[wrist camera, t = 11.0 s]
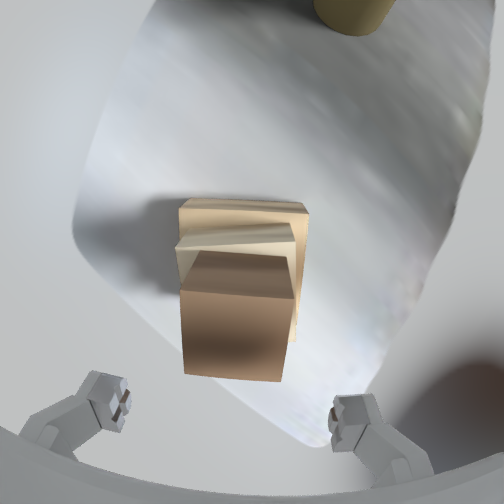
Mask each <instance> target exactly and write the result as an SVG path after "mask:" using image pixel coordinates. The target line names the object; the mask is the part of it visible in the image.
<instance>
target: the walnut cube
mask: <svg viewBox="0 0 504 504" xmlns="http://www.w3.org/2000/svg"><path fill="white" fill-rule="evenodd" d="M294 300H295V299H294V294H293V288H292V283H291V278H290V272H289V267H288V262H287V257H284V256H271V255H258V254H245V253H232V252H219V251H206V250H200V251H199V253H198V255H197V257H196V259H195V261H194V263H193V265H192V267H191V268H190V270H189V272H188V274H187V276H186V278H185V280H184V282H183V284H182V286H181V288H180V313H181V331H182V347H183V360H184V373H185V374H190V375H199V376H207V377H217V378H227V379H239V380H252V381H269V382H281V378H282V373H283V367H284V361H285V355H286V350H287V344H288V338H289V332H290V325H291V319H292V313H293V306H294Z"/></svg>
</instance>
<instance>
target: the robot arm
mask: <svg viewBox="0 0 504 504" xmlns="http://www.w3.org/2000/svg"><path fill="white" fill-rule="evenodd" d="M127 386H128V383H127V379H125V378H123V377H118V376H114V375H110V374H106V373H101V372H97V371H93V370H92V371H91V372H89V374H88V376H87V377H86V379H85V380H84V382H83V383H82V385H81V387H80V388H79V390H78V392H77V393H76V395H75V396H73V395H71V396H69V397H67V398H65V399H64V400H61V401H59V402H58V403H56V404H54V405H52V406H50V407H48V408H46V409H44V410H42V411H40V412H37V413H36V414H33V415H31V416H30V418H29V419H28V421H27V422H26V424H25V425H24V427H23V428H22V430H21V432H20V433H19V435H16V434H14V433H12V432H10V431H8V430H6V429H4V428H3V427H1V426H0V504H504V453H498V454H495V455H493V456H490V457H488V458H485V459H482V460H480V461H477V462H474V463H472V464H469V465H466V466H463V467H460V468H457V469H454V470H451V471H447V472H444V473H441V474H438V475H435V474H434V472H433V469H432V466H431V464H430V461H429V458H428V456H427V453H426V452H425V451H424V450H422V449H421V448H420V447H418V446H417V445H416V444H414V443H413V442H412V441H410V440H409V439H408V438H406V437H405V436H404V435H402V434H401V433H400V432H398V431H397V430H396V429H395V428H393V427H392V426H391V425H389V424H388V423H384V422H383V419H382V416H381V413H380V411H379V408H378V405H377V402H376V399H375V397H374V395H373V394H355V395H336V396H335V398H334V400H333V404H334V407H333V408H331V409H330V412H329V417H328V427H329V431H330V432H331V433H332V434H333V435H332V437H331V444H332V449H333V452H349V451H353V453H354V454H355V455H356V456H357V457H358V458H359V459H360V460H361V461H362V462H363V463H364V465H365V466H366V467H367V468H368V469H369V470H370V471H371V472H372V473H373V474H374V475H375V476H376V477H377V478H378V480H377V481H376V482H375V484H374V485H373V486H372V487H371V489H367V490H360V491H352V492H344V493H333V494H321V495H302V496H258V495H238V494H226V493H216V492H207V491H199V490H192V489H184V488H179V487H173V486H168V485H163V484H158V483H153V482H148V481H144V480H139V479H135V478H132V477H127V476H124V475H120V474H116V473H113V472H110V471H106V470H103V469H99V468H97V467H93V466H90V465H88V464H85V463H82V462H79V461H78V459H77V458H76V456H75V455H74V453H73V452H72V451H74V450H75V449H76V448H78V447H79V446H81V445H82V444H83V443H85V442H86V441H87V440H89V439H90V438H91V437H93V436H94V435H95V434H97V433H98V432H99V431H100V430H101V429H105V430H109V431H114V432H118V433H120V432H121V430H122V427H123V425H124V423H125V420H124V417H123V416H125V415H126V414H128V413H129V410H130V407H131V402H132V401H131V394H130V392H129V391H128V390H127V389H126V388H127Z"/></svg>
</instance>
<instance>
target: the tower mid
mask: <svg viewBox="0 0 504 504" xmlns="http://www.w3.org/2000/svg"><path fill="white" fill-rule="evenodd" d="M200 250H206V251H219V252H232V253H245V254H258V255H271V256H284V257H287V262H288V267H289V272H290V278H291V283H292V288H293V294H294V299H295V300H294V306H293V313H292V319H291V325H290V332H289V338H288V342H296V241H295V238H294V235H293V232H292V228H291V225H290V223H276V224H256V225H237V226H219V227H202V228H189V230H188V231H187V232H186V233H185V235H184V236H183V237H182V239H181V240H180V241H179V243H178V244H177V245H176V247H175V252H176V258H177V264H178V271H179V277H180V283H181V286H182V284H183V282H184V280H185V278H186V276H187V274H188V272H189V270H190V268H191V267H192V265H193V263H194V261H195V259H196V257H197V255H198V253H199V251H200Z"/></svg>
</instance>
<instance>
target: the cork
mask: <svg viewBox="0 0 504 504" xmlns="http://www.w3.org/2000/svg"><path fill="white" fill-rule="evenodd" d="M395 1H396V0H313V5H314V9H315V11H316V13H317V15H318V16H319V18H320V19H321V20H322V21H323V22H324V23H325V24H326V25H327V26H329V27H330V28H332V29H333V30H335V31H337V32H340V33H342V34H345V35H350V36H363V35H368V34H370V33H372V32H374V31H376V29H377V28H378V27H379V26H380V25H381V23H382V21H383V20H384V18H385V17H386V15H387V13H388V12H389V10H390V9H391V7H392V5H393V4H394V2H395Z"/></svg>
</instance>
